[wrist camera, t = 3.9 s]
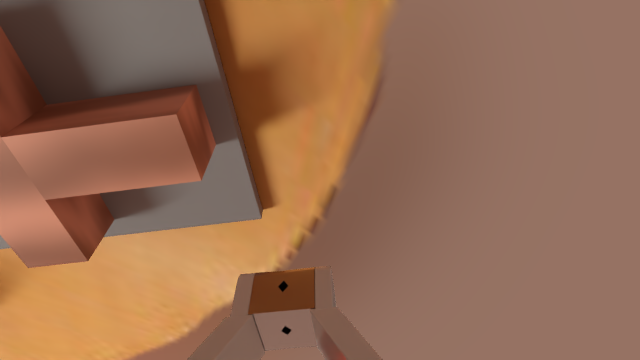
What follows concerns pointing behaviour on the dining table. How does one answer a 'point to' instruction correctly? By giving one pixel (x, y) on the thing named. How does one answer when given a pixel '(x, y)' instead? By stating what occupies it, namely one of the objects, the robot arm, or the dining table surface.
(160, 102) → the t block
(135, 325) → the dining table surface
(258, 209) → the board
